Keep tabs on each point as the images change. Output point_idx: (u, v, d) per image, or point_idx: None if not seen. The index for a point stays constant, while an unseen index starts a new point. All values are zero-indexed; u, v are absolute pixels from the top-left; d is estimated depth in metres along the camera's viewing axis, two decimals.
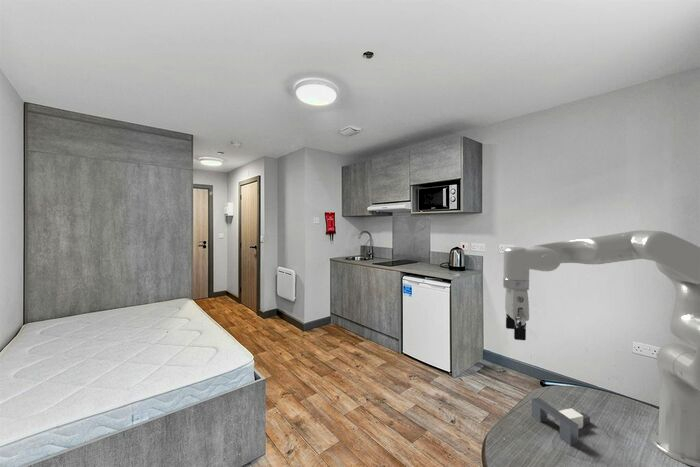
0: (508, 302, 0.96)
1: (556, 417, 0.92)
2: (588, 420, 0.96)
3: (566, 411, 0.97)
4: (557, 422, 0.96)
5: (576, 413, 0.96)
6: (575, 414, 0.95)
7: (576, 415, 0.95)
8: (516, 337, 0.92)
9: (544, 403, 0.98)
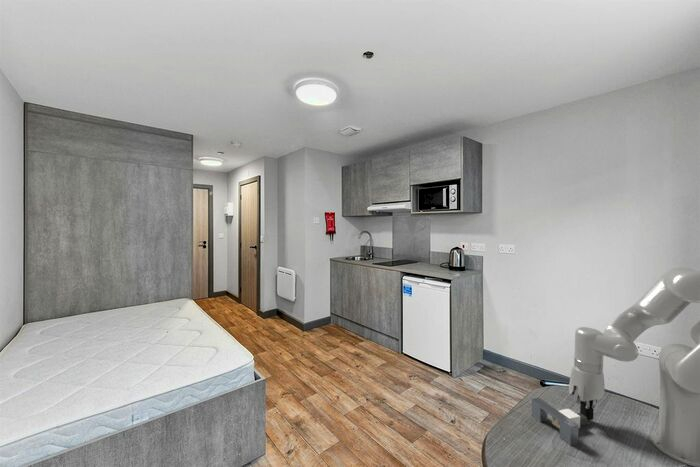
0: (597, 386, 0.95)
1: (556, 417, 0.92)
2: (585, 420, 0.96)
3: (563, 411, 0.97)
4: (554, 422, 0.96)
5: (573, 413, 0.96)
6: (572, 414, 0.95)
7: (572, 415, 0.95)
8: None
9: (544, 403, 0.98)
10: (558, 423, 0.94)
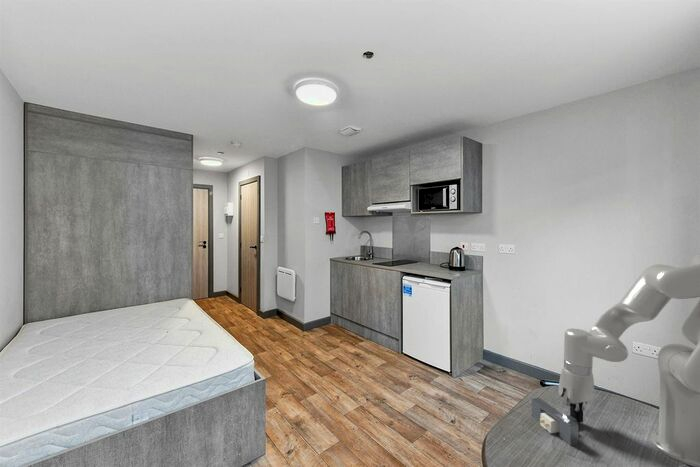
0: (587, 388, 0.94)
1: (556, 417, 0.92)
2: None
3: None
4: (542, 424, 0.95)
5: None
6: None
7: None
8: None
9: (544, 403, 0.98)
10: (546, 425, 0.93)
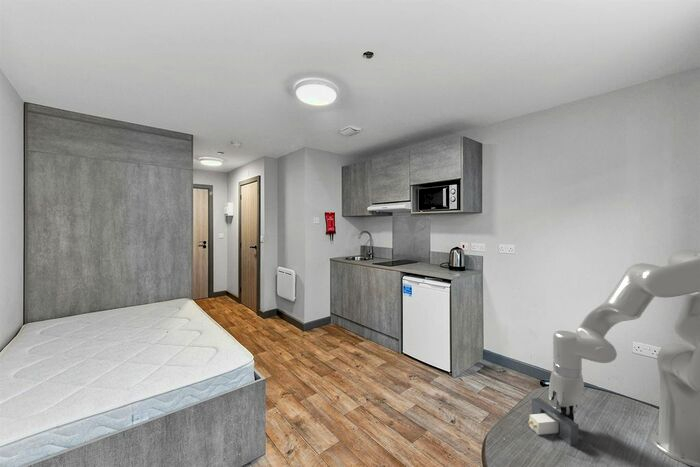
0: (576, 391, 0.93)
1: (556, 417, 0.92)
2: None
3: (542, 415, 0.95)
4: (531, 425, 0.95)
5: (552, 418, 0.94)
6: (550, 419, 0.93)
7: (550, 420, 0.93)
8: None
9: (544, 403, 0.98)
10: (534, 426, 0.93)
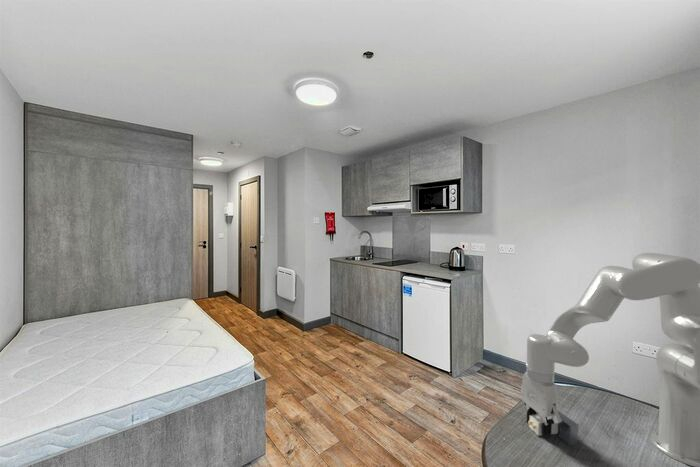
0: None
1: None
2: None
3: (541, 415, 0.95)
4: (531, 426, 0.94)
5: None
6: None
7: None
8: None
9: None
10: (533, 427, 0.92)
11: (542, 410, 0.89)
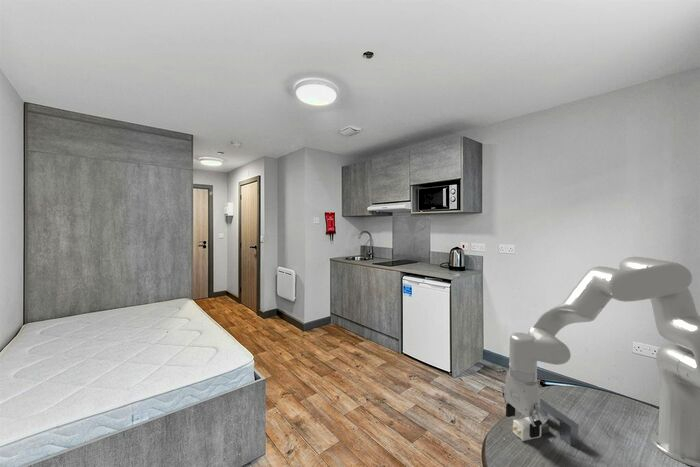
0: None
1: (556, 417, 0.92)
2: (547, 429, 0.92)
3: (525, 419, 0.93)
4: (515, 431, 0.92)
5: None
6: None
7: None
8: None
9: (544, 403, 0.98)
10: (518, 432, 0.90)
11: (524, 410, 0.87)
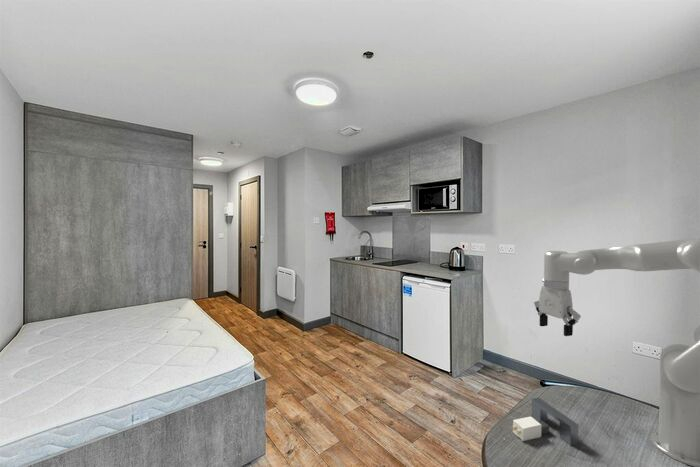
0: None
1: (556, 417, 0.92)
2: (547, 429, 0.92)
3: (525, 419, 0.93)
4: (515, 431, 0.92)
5: (534, 422, 0.92)
6: (533, 423, 0.91)
7: (533, 424, 0.91)
8: None
9: (544, 403, 0.98)
10: (518, 432, 0.90)
11: (559, 313, 1.01)
